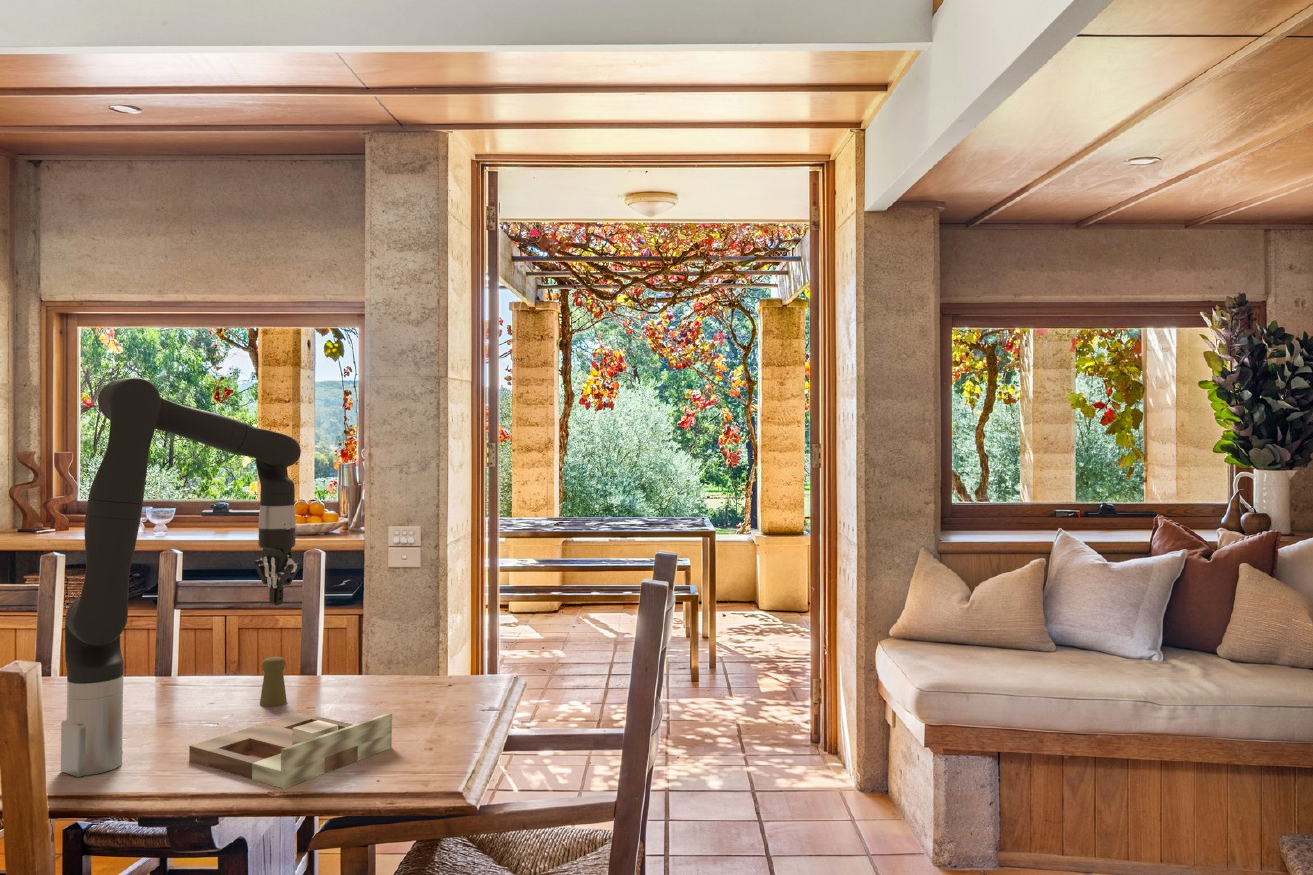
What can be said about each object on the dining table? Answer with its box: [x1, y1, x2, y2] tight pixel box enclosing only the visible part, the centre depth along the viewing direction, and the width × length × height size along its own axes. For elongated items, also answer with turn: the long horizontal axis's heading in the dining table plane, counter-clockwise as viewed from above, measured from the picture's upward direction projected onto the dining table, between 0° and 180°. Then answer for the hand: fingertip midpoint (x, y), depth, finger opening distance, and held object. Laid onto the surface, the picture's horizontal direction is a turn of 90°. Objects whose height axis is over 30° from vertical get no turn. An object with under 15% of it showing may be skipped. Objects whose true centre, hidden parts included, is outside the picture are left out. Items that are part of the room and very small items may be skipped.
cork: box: [259, 656, 288, 708], centre depth 218 cm, size 6×6×11 cm
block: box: [292, 720, 338, 745], centre depth 178 cm, size 6×6×4 cm
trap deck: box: [188, 712, 393, 790], centre depth 182 cm, size 26×28×7 cm
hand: (276, 604), depth 200 cm, fingers closed
